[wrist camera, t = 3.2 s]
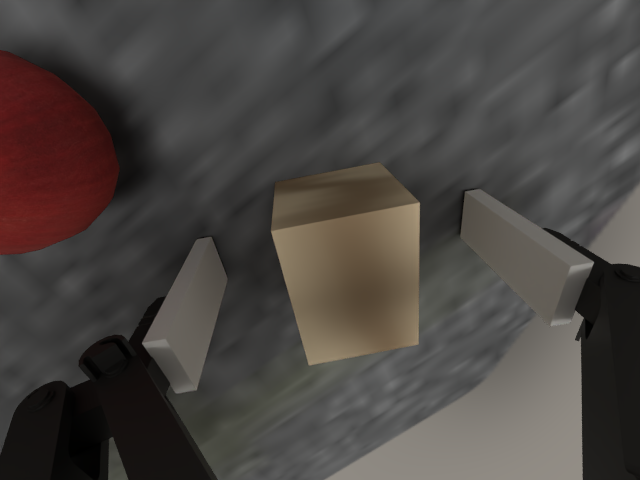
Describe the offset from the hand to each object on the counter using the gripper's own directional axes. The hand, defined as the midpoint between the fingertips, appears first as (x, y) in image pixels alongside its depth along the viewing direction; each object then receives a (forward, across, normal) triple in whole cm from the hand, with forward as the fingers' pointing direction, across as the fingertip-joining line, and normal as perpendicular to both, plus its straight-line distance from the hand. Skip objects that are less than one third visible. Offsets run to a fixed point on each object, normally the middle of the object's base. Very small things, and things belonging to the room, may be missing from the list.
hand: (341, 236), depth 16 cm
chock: (0, 0, 0) cm, 0 cm away
